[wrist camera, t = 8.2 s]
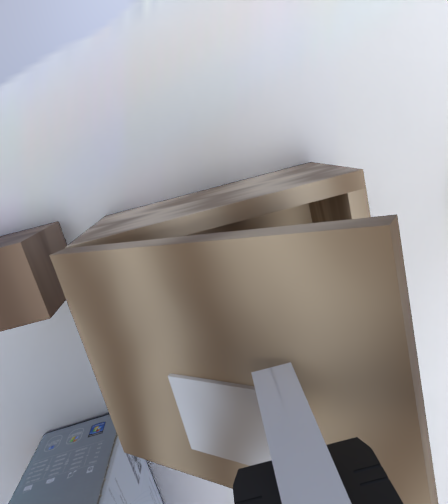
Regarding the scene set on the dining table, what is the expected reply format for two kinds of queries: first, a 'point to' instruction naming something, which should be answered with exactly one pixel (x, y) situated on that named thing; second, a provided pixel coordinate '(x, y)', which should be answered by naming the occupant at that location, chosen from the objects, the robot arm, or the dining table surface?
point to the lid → (254, 342)
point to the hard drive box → (85, 469)
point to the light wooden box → (242, 206)
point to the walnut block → (29, 276)
